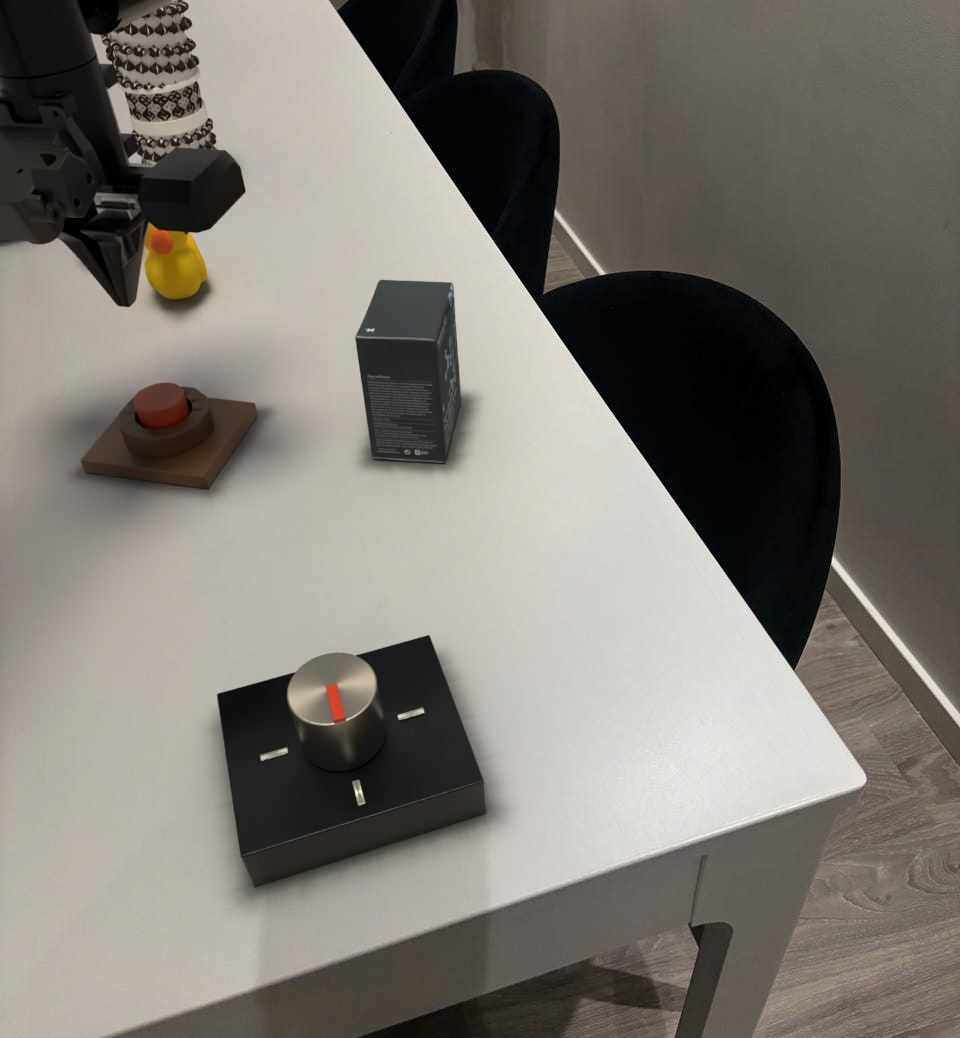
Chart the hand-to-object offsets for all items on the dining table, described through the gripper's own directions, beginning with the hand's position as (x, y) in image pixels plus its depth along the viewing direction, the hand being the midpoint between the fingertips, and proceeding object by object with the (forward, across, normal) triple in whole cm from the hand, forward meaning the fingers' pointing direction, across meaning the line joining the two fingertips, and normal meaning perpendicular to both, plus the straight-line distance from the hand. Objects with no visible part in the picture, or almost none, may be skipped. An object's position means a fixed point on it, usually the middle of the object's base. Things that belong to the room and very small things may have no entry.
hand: (127, 304), depth 65 cm
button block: (+12, 0, 0) cm, 12 cm away
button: (+9, 0, 0) cm, 9 cm away
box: (+12, +18, +5) cm, 22 cm away
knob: (+9, +23, -24) cm, 34 cm away
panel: (+12, +23, -24) cm, 35 cm away
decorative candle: (+12, -20, +42) cm, 48 cm away
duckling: (+12, -10, +21) cm, 26 cm away
